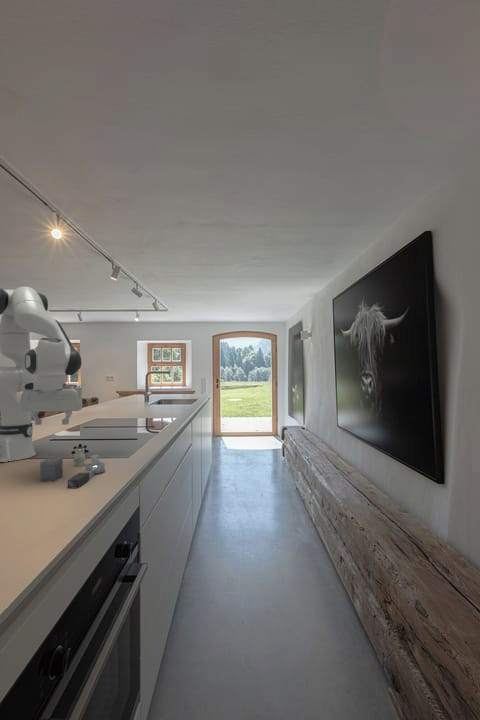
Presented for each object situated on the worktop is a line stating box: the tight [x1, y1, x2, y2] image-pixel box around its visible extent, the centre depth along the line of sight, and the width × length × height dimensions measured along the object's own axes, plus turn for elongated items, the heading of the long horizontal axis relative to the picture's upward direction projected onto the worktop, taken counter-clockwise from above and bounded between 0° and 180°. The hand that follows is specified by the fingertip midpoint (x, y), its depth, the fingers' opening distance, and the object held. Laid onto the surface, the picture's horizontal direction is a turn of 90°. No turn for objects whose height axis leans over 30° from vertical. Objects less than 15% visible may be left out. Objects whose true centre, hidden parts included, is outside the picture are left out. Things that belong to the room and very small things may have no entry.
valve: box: [70, 443, 90, 467], centre depth 141 cm, size 7×7×12 cm
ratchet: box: [67, 454, 106, 489], centre depth 121 cm, size 6×20×6 cm, turn 179°
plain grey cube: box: [39, 457, 64, 482], centre depth 121 cm, size 5×5×6 cm
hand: (51, 424), depth 121 cm, fingers open, 8 cm apart
